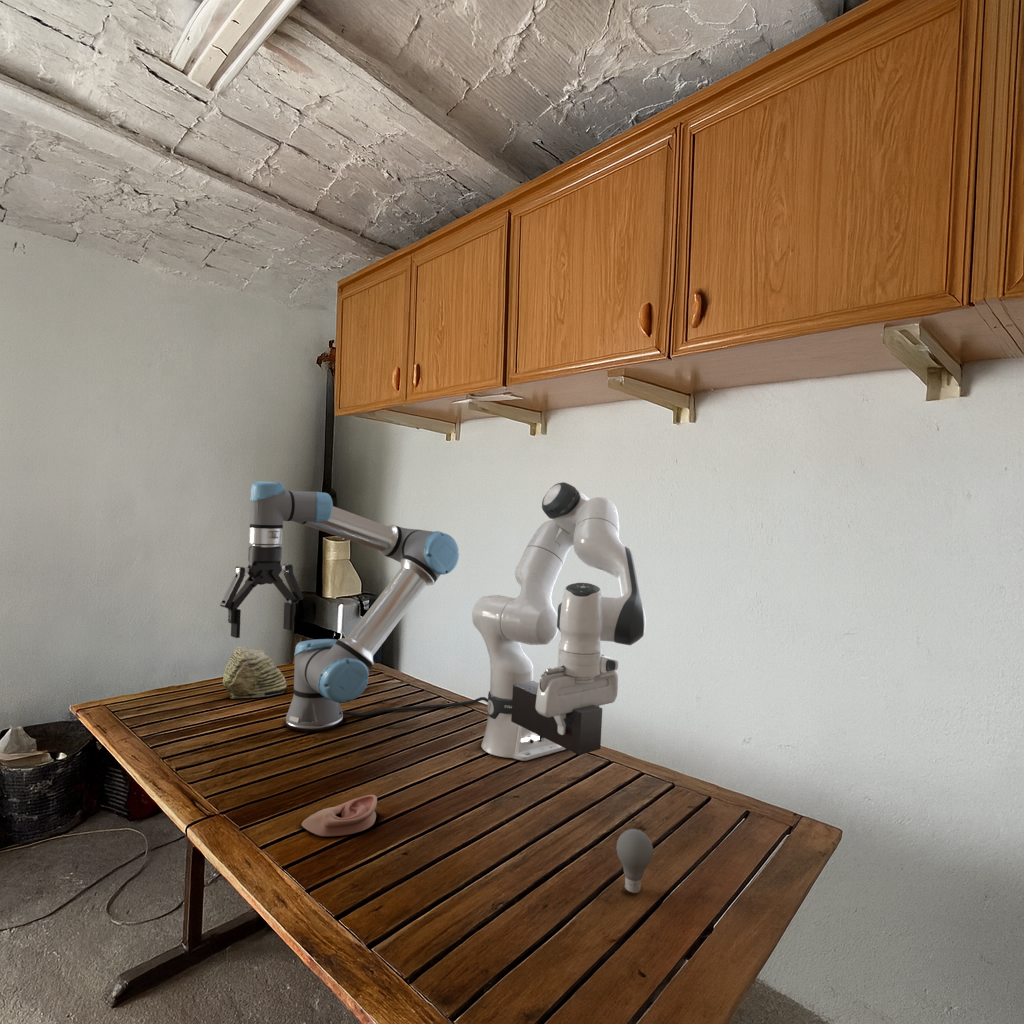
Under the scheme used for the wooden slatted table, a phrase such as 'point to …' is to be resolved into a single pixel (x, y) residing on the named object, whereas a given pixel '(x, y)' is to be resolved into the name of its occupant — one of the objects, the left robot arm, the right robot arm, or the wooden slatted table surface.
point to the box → (580, 721)
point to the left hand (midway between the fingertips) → (262, 633)
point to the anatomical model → (343, 817)
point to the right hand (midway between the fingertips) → (576, 730)
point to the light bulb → (634, 857)
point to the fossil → (252, 674)
